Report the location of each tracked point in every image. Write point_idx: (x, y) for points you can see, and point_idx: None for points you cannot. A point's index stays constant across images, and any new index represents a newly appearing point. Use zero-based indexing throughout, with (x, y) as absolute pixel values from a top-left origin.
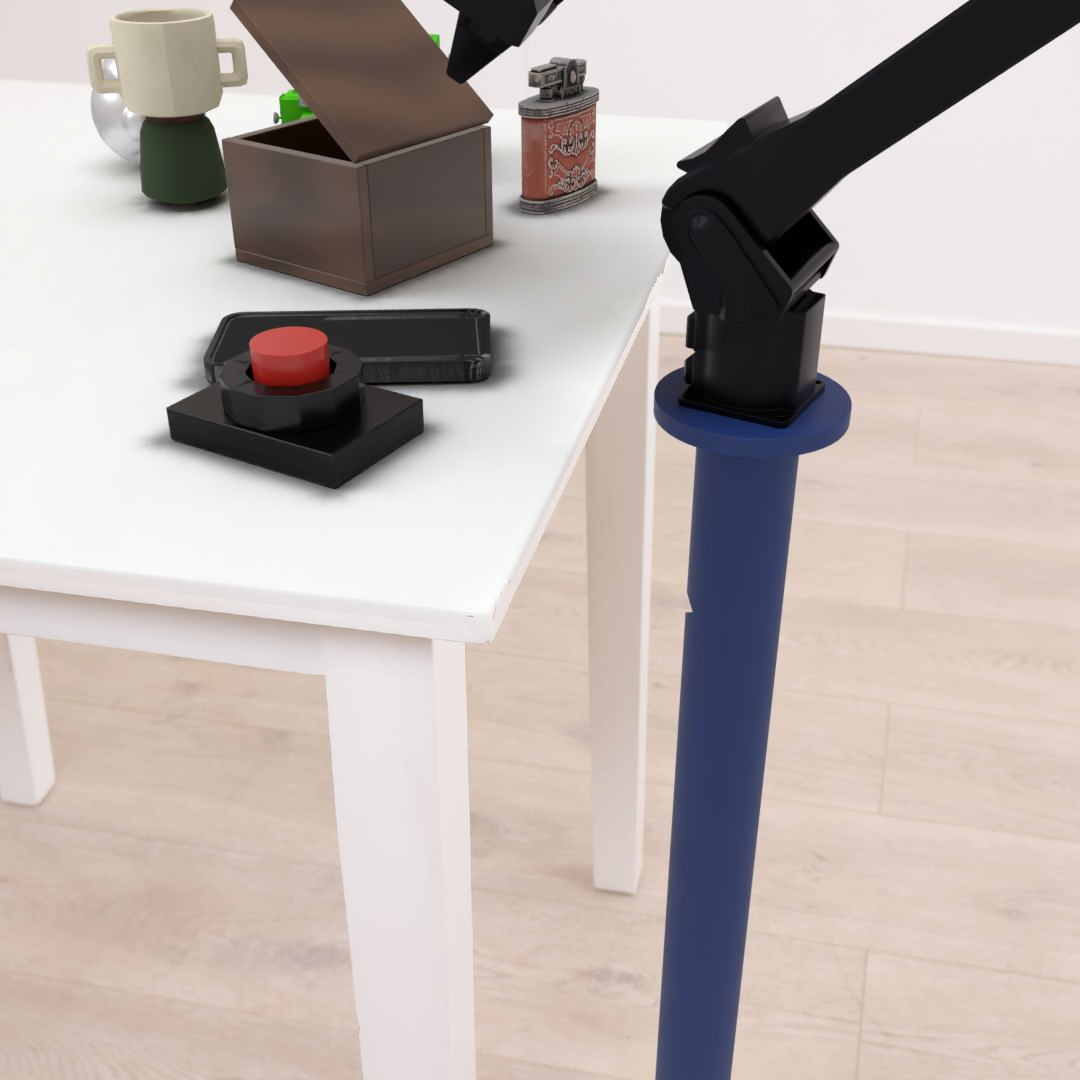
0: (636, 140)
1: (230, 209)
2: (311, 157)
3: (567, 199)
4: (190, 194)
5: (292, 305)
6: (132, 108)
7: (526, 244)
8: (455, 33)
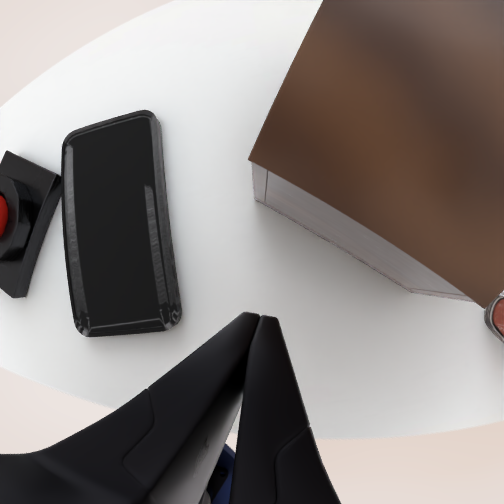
0: None
1: None
2: None
3: (501, 338)
4: None
5: (226, 140)
6: None
7: (413, 323)
8: (171, 371)
